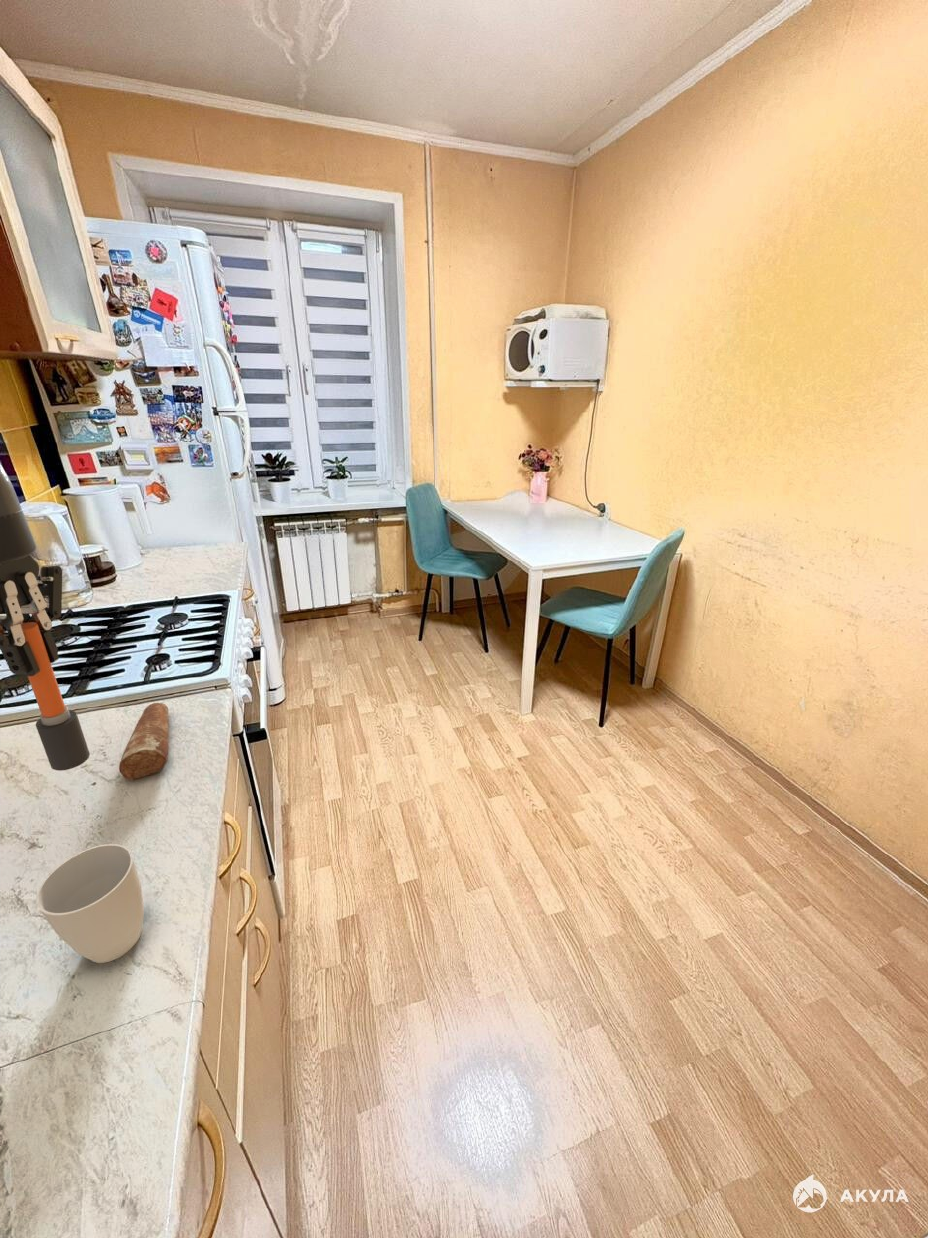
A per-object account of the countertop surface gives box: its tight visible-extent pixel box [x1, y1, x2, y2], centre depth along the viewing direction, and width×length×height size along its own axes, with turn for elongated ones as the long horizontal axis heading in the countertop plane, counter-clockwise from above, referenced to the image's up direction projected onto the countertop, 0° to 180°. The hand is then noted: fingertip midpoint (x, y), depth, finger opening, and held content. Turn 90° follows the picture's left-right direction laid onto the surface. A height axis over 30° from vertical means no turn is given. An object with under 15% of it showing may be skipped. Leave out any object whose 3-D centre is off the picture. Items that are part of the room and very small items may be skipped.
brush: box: [21, 622, 91, 771], centre depth 57 cm, size 4×4×18 cm
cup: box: [35, 843, 145, 964], centre depth 53 cm, size 8×8×10 cm
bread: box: [118, 702, 170, 780], centre depth 84 cm, size 6×19×6 cm, turn 22°
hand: (38, 667), depth 55 cm, fingers closed on brush, 2 cm apart
